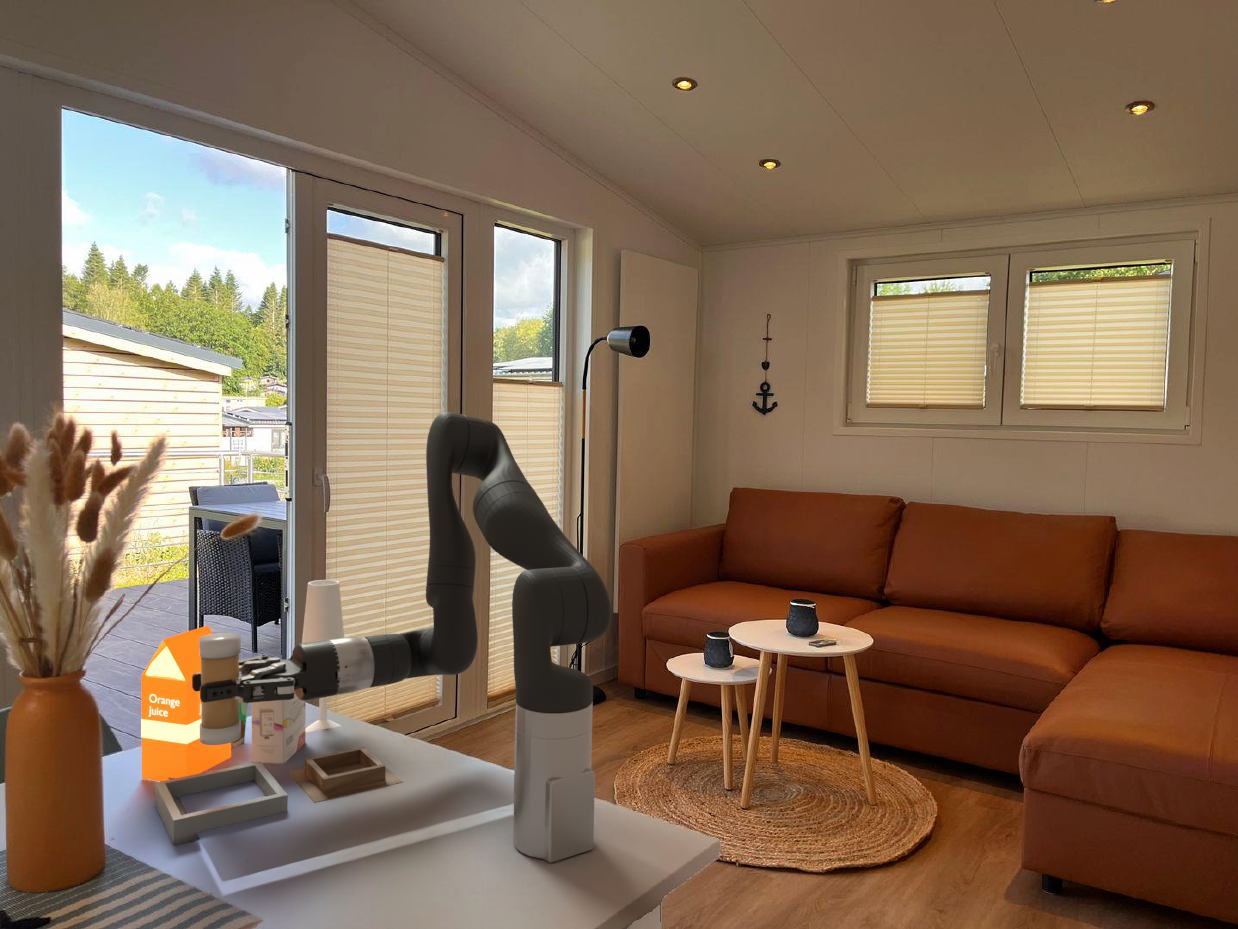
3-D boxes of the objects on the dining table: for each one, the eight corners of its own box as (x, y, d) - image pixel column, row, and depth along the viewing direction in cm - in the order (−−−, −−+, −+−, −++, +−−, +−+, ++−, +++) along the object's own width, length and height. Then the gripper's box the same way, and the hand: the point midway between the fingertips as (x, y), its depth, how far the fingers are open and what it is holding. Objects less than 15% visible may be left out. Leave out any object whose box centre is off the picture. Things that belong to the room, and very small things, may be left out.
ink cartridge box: (274, 747, 136) (274, 652, 135) (306, 748, 136) (306, 653, 135) (249, 769, 128) (249, 668, 127) (284, 770, 128) (284, 669, 127)
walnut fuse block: (403, 789, 122) (403, 767, 122) (314, 810, 115) (314, 787, 115) (371, 760, 132) (371, 740, 132) (287, 778, 125) (287, 757, 125)
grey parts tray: (287, 818, 113) (287, 795, 112) (173, 845, 105) (173, 820, 105) (260, 782, 123) (260, 761, 123) (155, 805, 116) (155, 782, 115)
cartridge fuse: (244, 740, 113) (244, 639, 112) (203, 748, 111) (203, 644, 110) (236, 728, 117) (235, 631, 116) (196, 736, 114) (195, 635, 114)
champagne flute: (293, 737, 140) (294, 586, 139) (310, 723, 147) (311, 578, 146) (336, 739, 140) (336, 587, 139) (350, 724, 147) (351, 579, 146)
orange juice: (232, 763, 130) (232, 627, 129) (187, 787, 121) (186, 641, 120) (187, 757, 132) (186, 622, 131) (140, 780, 123) (139, 636, 122)
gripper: (316, 628, 127) (185, 645, 117) (351, 652, 116) (208, 673, 106) (316, 680, 128) (185, 701, 118) (350, 709, 116) (208, 735, 106)
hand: (197, 688), depth 112 cm, fingers closed on cartridge fuse, 4 cm apart
